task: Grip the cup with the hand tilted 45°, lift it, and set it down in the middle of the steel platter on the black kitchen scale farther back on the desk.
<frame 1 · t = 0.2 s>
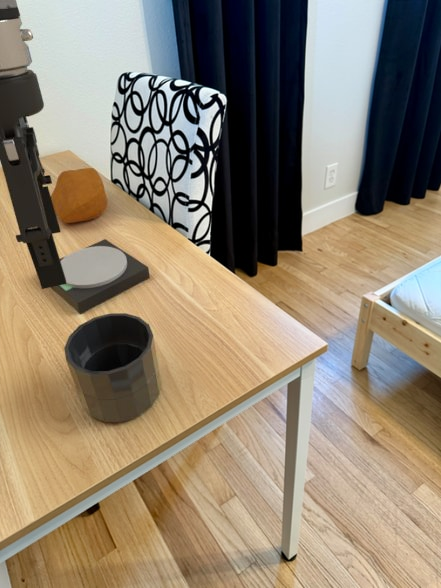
hand: (52, 256, 55), 19 cm above the table, tool pointing down, fingers open, 13 cm apart
cup: (122, 391, 61), on the table
bread: (79, 213, 105), on the table
scale: (95, 278, 83), on the table
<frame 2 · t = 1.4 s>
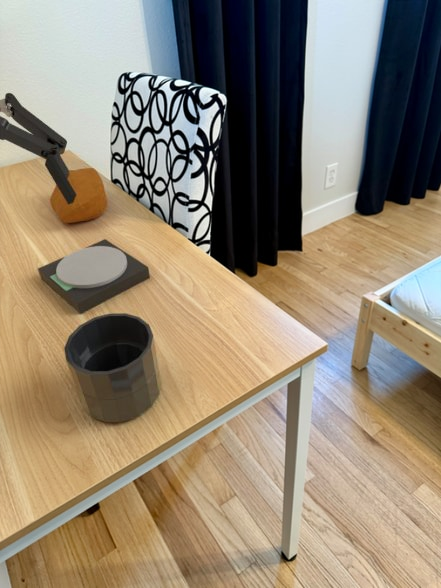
hand: (26, 216, 57), 22 cm above the table, tool tilted 45°, fingers open, 13 cm apart
nothing on the table moved.
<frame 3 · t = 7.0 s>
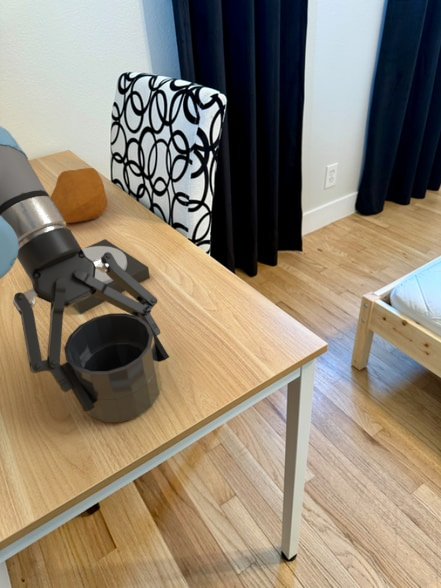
hand: (128, 383, 57), 4 cm above the table, tool tilted 45°, fingers closed on cup, 11 cm apart
cup: (122, 391, 61), on the table, touching gripper
everything else where it was.
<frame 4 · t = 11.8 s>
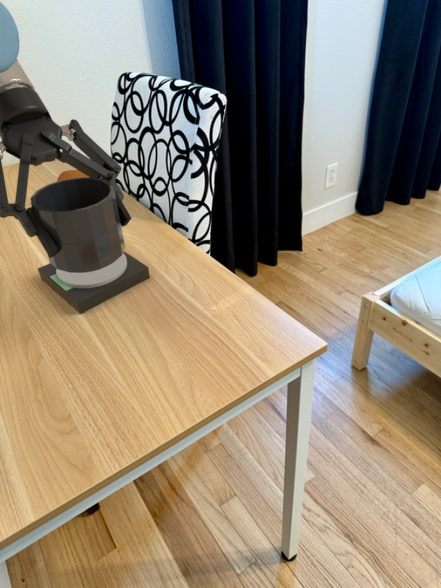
hand: (92, 237, 61), 17 cm above the table, tool tilted 45°, fingers closed on cup, 11 cm apart
cup: (88, 254, 65), point 13 cm above the table, touching gripper
everything else where it was.
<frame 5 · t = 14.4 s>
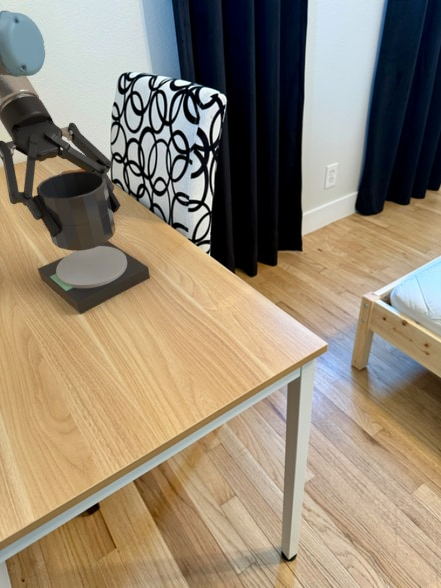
hand: (87, 221, 73), 13 cm above the table, tool tilted 45°, fingers closed on cup, 11 cm apart
cup: (84, 236, 77), point 9 cm above the table, touching gripper
everything else where it was.
when the fingers open (7 cm above the table, at t = 16.7 s): cup stays where it is, resting on scale.
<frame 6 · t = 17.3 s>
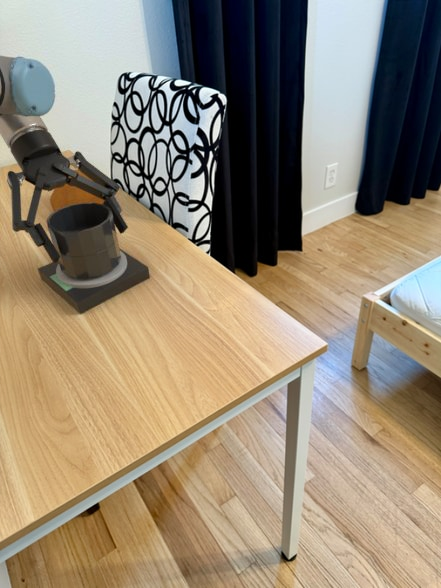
hand: (92, 244, 76), 9 cm above the table, tool tilted 45°, fingers open, 13 cm apart
cup: (91, 264, 81), point 3 cm above the table, touching scale
everything else where it was.
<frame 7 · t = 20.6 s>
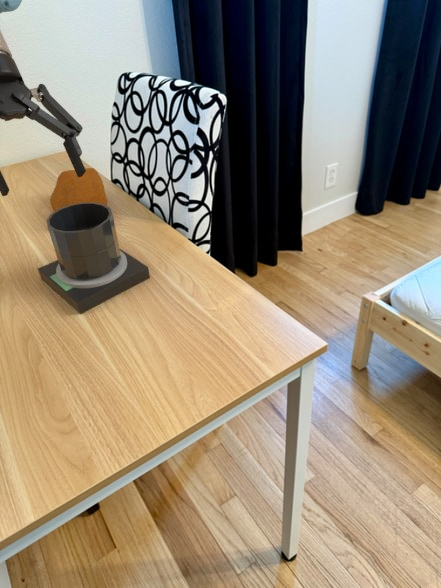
hand: (46, 183, 74), 18 cm above the table, tool tilted 35°, fingers open, 13 cm apart
nothing on the table moved.
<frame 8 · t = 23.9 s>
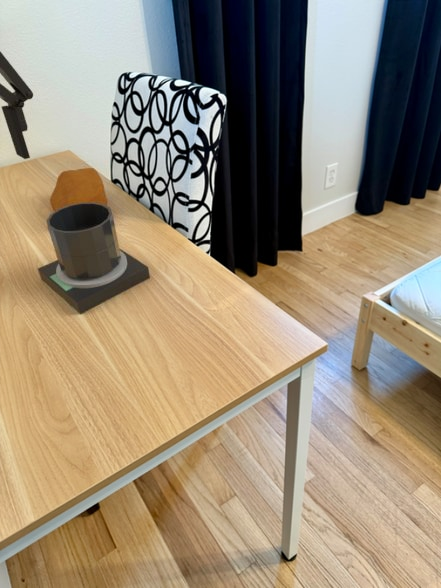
nothing on the table moved.
at the end: cup inside the target area on the scale (0.0 cm from its centre), point 3.3 cm above the scale's base; cup tilted 0°; the gripper is holding nothing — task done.
